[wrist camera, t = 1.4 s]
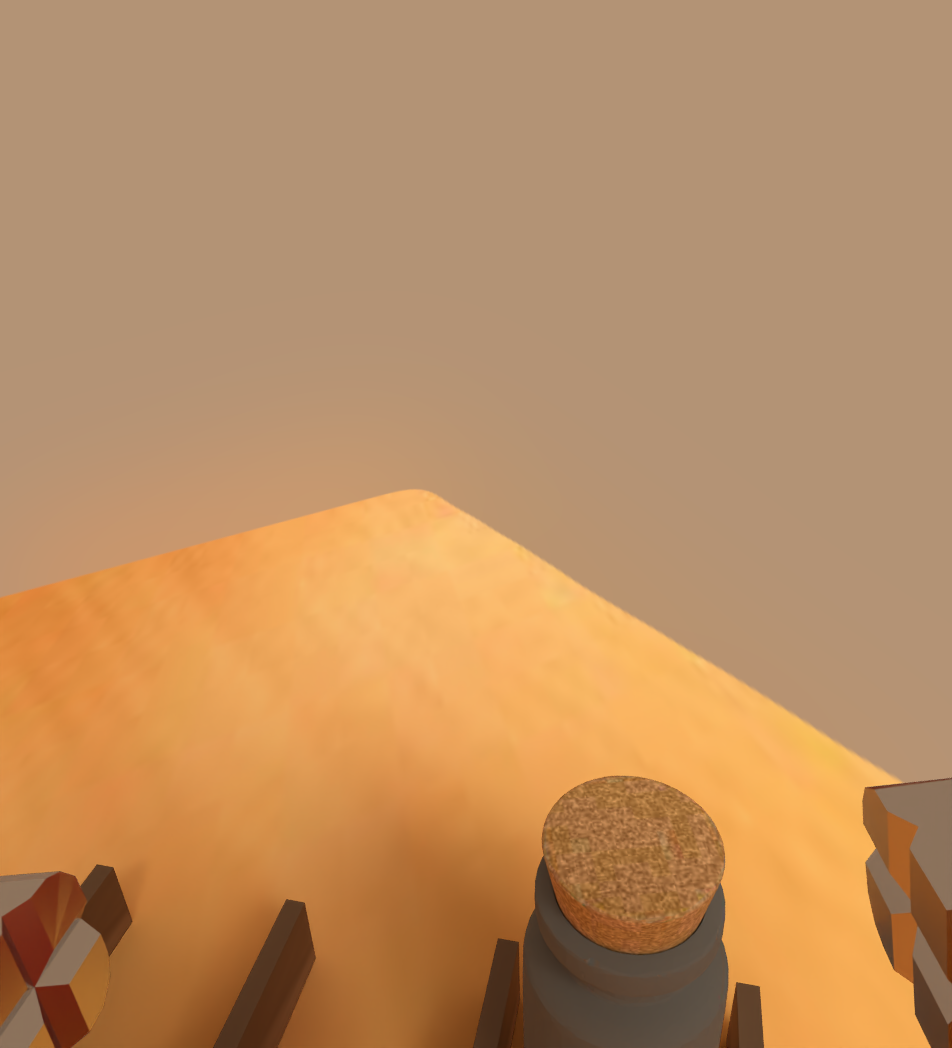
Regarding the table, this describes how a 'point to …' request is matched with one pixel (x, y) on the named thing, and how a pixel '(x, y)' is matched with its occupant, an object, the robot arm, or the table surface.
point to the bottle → (626, 922)
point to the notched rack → (291, 956)
